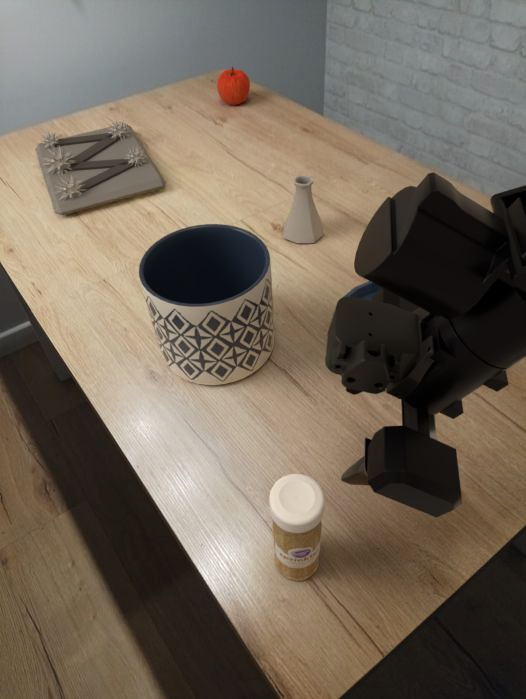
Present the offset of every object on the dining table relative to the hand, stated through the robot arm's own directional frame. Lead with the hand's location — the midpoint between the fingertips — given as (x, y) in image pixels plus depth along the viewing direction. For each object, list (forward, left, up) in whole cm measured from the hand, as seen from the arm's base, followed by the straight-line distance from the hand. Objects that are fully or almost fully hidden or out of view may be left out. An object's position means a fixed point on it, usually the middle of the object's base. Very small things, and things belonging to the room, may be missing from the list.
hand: (347, 433), depth 45 cm
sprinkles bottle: (-3, +7, -14) cm, 16 cm away
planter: (+28, +1, -14) cm, 32 cm away
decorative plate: (+86, +1, -14) cm, 87 cm away
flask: (+44, -23, -14) cm, 52 cm away
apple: (+100, -38, -14) cm, 108 cm away
